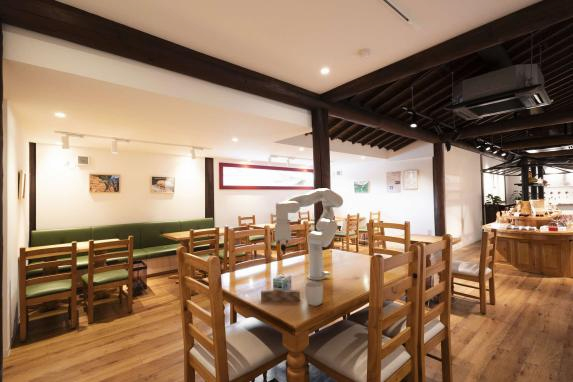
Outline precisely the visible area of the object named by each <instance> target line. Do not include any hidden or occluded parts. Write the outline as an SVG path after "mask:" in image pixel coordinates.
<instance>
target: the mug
mask: <svg viewBox="0 0 573 382" xmlns="http://www.w3.org/2000/svg"><path fill="white" fill-rule="evenodd" d="M305 295H306V301H307V303H308V304H309V306H314V307H315V306H320V305H321V304H322V302H323V296H324V284H323V283H322V282H320V281H308V282H306V283H305Z"/></svg>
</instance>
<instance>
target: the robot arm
mask: <svg viewBox="0 0 573 382" xmlns="http://www.w3.org/2000/svg"><path fill="white" fill-rule="evenodd" d="M319 202H321V204H322V208H323V210H322V214H321V215H320V218H319V219H318V220H317V222H316V225H315V229H316V230H317V231H316V230H312V231H310V232H308V234H307V236H306V242H307V245H308V265H309V266H308V269H309V272H308V273H309V274H307V275H306V277H307V279H309V280H311V281H321V280H322V281H323V280H325V279H326V277H327V276H331V272H330V271H325V270H324V259H323V258H324V253H323V252H324V250H323V248H327V247H328V246H329V245H331V243H332V240H333V239H334V238H335V235H336V233H337V231H338V227H339V226H338V223H337V221H336V220H334V218H335V212H334V208H340V207H342V206H343V204H344V200H343V198H342V196H341V195H340V194H339V193H337V192H334V191H333V190H332V189H329V188H317V189H314V190H312V191H309V192H306V193H305V194H301V195H298V196H295V197H291V198H289V199H286V200H284V201H282V202H276V203H275V220H276V223H275V226H274V242H275V243H278V244H279V245H280V250H281V251H282V252H285V251H286V250H287V244H288V243H291V242H292V241H293V240H292V229H291V224H290V223H291V219H289V214H296V213H298V212H300V209H301V208H306V207H311V206H313V205H314V204H317V203H319ZM283 241H284V242H283Z"/></svg>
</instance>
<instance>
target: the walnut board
mask: <svg viewBox="0 0 573 382" xmlns="http://www.w3.org/2000/svg"><path fill="white" fill-rule="evenodd" d="M260 301H261V302H300V301H301V293H300V290H299V289H298V290H297V289H296V290H295V289H294V290H293V289H292V290H273V289H272V290H269V289H268V290H267V289H265V290H260Z"/></svg>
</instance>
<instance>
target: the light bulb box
mask: <svg viewBox="0 0 573 382" xmlns="http://www.w3.org/2000/svg"><path fill="white" fill-rule="evenodd" d="M272 287H273V289H272V290H293V289H292V287H293V286H292V275H291V274H285V273H281V274H279V275H277V276H275V277H273V279H272Z"/></svg>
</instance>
